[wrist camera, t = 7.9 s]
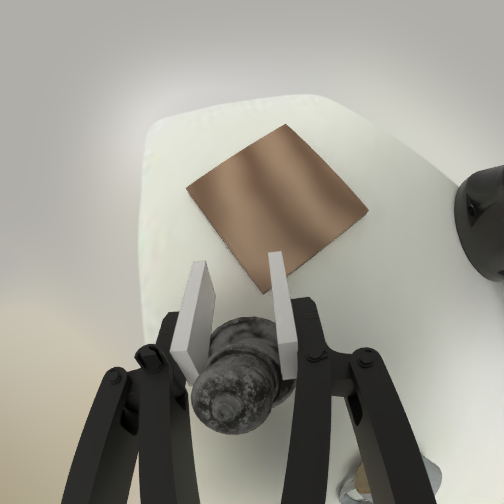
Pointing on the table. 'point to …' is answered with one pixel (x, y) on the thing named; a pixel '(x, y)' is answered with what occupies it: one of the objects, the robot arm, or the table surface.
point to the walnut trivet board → (276, 203)
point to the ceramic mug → (364, 490)
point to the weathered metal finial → (240, 377)
